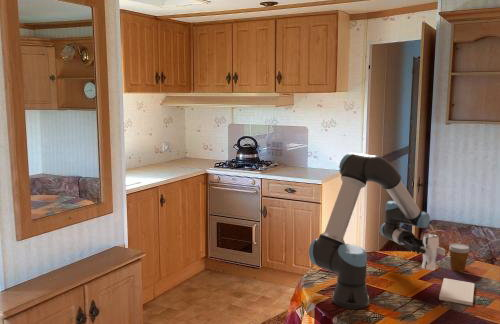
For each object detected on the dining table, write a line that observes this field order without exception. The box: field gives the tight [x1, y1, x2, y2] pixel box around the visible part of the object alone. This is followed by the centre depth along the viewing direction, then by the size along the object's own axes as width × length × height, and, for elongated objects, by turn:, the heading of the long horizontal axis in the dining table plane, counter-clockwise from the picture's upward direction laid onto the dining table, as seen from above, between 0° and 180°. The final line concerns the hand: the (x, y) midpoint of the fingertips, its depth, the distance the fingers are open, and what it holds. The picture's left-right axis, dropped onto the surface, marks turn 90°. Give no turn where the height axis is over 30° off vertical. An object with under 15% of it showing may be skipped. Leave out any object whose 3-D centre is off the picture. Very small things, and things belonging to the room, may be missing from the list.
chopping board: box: [438, 277, 475, 306], centre depth 209 cm, size 22×13×2 cm, turn 153°
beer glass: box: [421, 233, 440, 271], centre depth 212 cm, size 7×7×15 cm
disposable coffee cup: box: [448, 242, 471, 272], centre depth 235 cm, size 10×10×12 cm
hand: (437, 253), depth 207 cm, fingers closed on beer glass, 6 cm apart
